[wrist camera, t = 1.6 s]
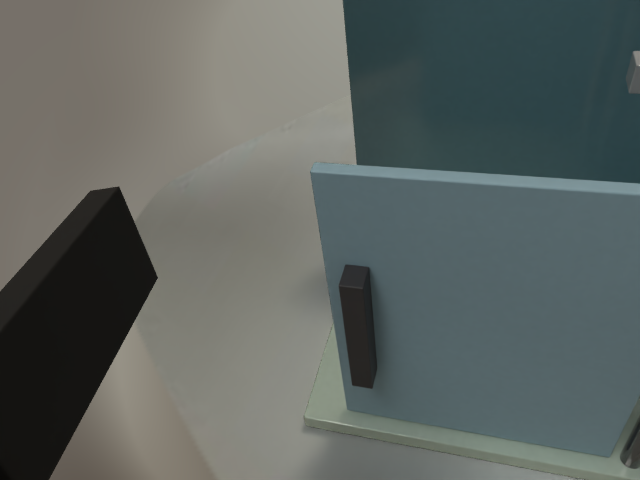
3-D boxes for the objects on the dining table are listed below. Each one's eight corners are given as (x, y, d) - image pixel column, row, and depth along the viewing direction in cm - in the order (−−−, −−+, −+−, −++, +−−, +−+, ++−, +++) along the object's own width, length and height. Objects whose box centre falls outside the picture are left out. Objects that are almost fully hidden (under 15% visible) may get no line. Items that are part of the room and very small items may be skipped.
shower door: (341, 430, 30) (299, 192, 19) (349, 400, 32) (313, 161, 21) (612, 482, 27) (745, 229, 16) (608, 446, 28) (731, 188, 17)
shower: (305, 426, 32) (231, 138, 19) (364, 232, 43) (342, -34, 30) (667, 496, 27) (891, 175, 14) (630, 258, 38) (739, -45, 25)
